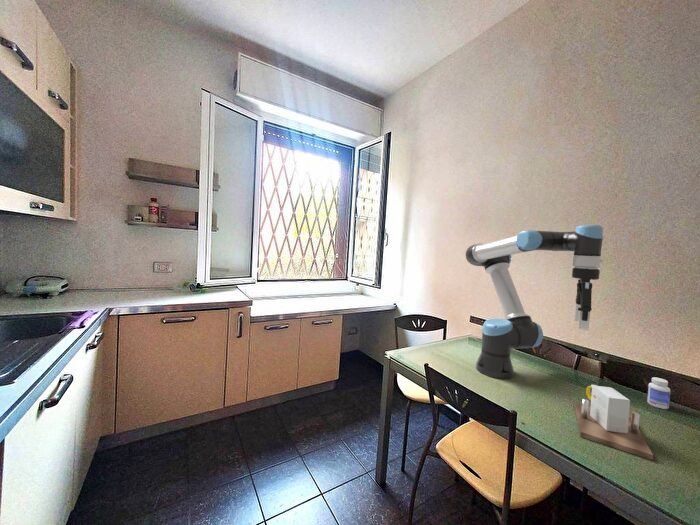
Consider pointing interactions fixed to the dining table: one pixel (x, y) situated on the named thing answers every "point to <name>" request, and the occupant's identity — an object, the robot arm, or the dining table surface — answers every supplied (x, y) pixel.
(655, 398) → the pill bottle
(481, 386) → the dining table surface
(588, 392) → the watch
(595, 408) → the small box
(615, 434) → the pin tray
